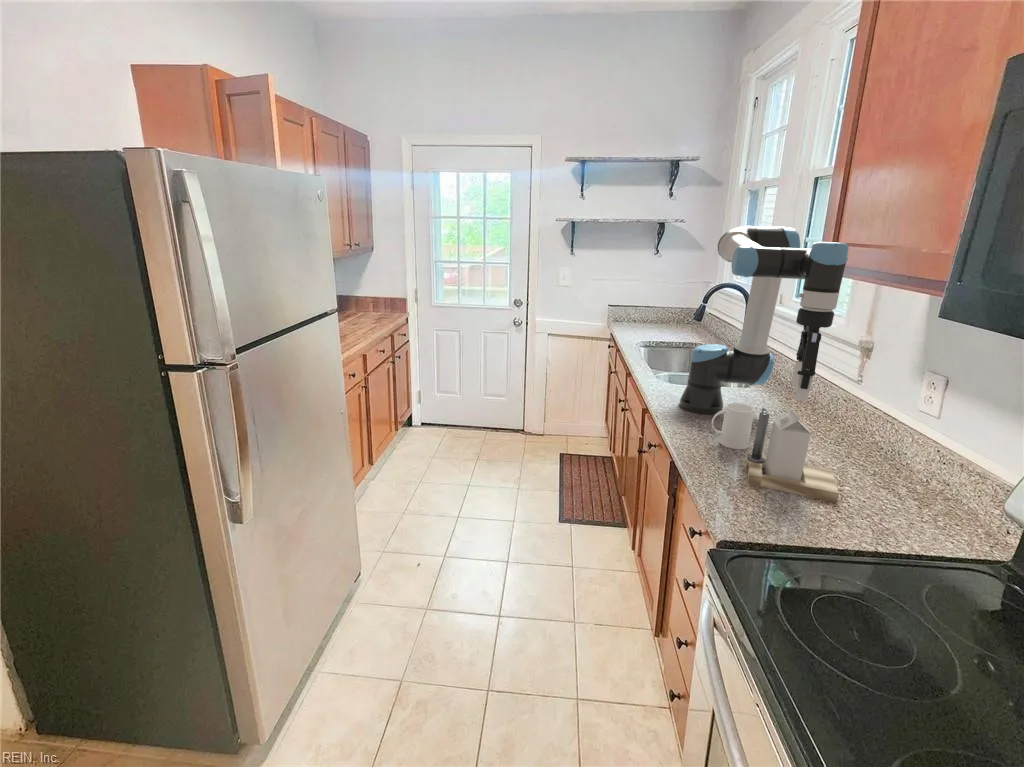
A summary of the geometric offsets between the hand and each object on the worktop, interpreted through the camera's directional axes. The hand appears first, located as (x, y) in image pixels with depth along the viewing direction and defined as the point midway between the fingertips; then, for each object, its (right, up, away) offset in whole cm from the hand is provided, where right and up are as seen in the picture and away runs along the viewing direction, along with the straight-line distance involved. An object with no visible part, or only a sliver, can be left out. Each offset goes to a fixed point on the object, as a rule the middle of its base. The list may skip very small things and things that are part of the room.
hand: (798, 392), depth 128 cm
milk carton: (-1, -23, +7) cm, 24 cm away
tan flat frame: (+1, -23, +6) cm, 24 cm away
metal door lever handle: (-4, -21, +14) cm, 26 cm away
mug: (-5, -16, +29) cm, 34 cm away
